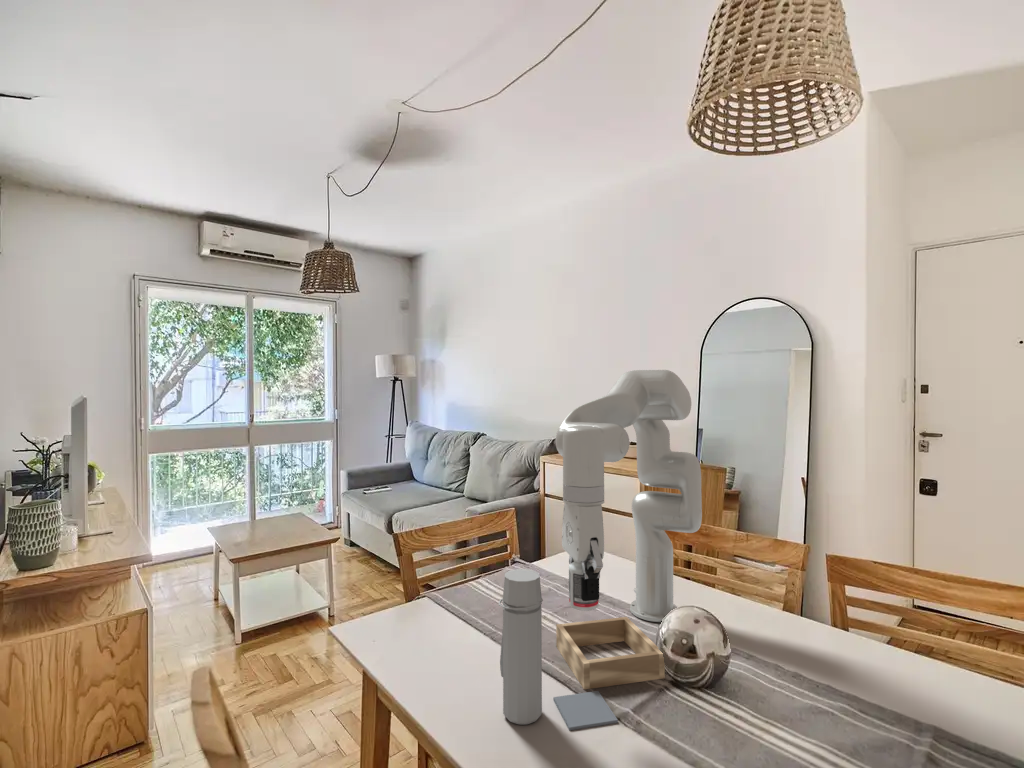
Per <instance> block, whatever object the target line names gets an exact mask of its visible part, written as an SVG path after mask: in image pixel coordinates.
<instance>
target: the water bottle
mask: <svg viewBox="0 0 1024 768" xmlns="http://www.w3.org/2000/svg"><path fill="white" fill-rule="evenodd" d="M543 601H544V599H543V596H542V587H541V575H540V573H539V572H538V571H536V570H533V569H528V568H516V569H510V570H508V571H507V572H505V573H504V581H503V592H502V597H501V599H499V601H498V606H499V607H500V608H502V630H501V631H502V634H501V645H500V659H499V666H500V667H499V668H500V670H499V671H500V676H501V678H502V683H503V684H502V692H503V693H502V697H503V698H502V700H503V701H502V705H503V706H502V707H503V708H502V712H503V715H504V717H505V718H506V719H507V720H508V721H509V722H510V723H513V724H516V725H530V724H532V723H535V722H536V721H538V719H539V718H540V717H541V716H542V714H543V679H542V677H543V672H542V671H543V667H542V665H543V663H542V659H543V658H542V654H543V653H542V651H543V649H542V645H543V643H542V641H543V638H542V637H543V635H542V633H543V631H542V630H543V629H542V623H543V622H542V618H543V616H542V604H543ZM501 602H502V604H501Z"/></svg>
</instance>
